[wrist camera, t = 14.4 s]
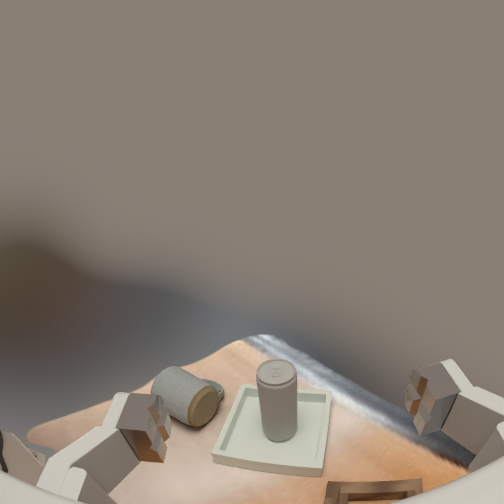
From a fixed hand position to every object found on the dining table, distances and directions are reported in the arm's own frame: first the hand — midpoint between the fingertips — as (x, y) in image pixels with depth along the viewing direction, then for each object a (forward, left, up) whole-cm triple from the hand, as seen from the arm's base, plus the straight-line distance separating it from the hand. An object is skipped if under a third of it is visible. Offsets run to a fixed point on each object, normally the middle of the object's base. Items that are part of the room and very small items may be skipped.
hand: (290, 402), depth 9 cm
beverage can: (-5, +20, -30) cm, 36 cm away
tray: (-6, +20, -30) cm, 36 cm away
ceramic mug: (-20, +23, -30) cm, 43 cm away
